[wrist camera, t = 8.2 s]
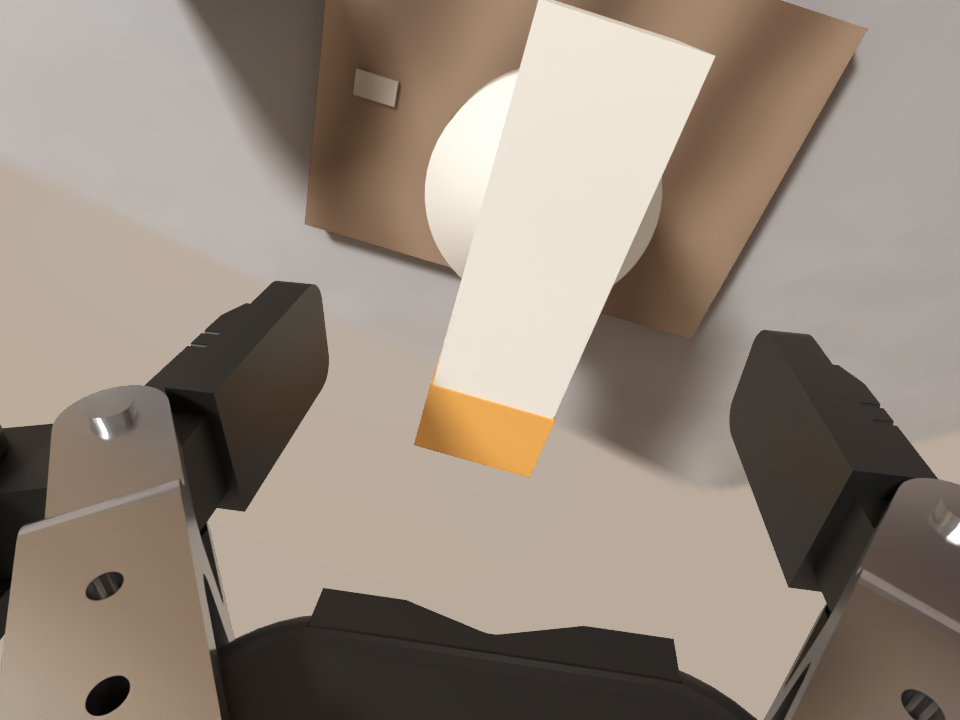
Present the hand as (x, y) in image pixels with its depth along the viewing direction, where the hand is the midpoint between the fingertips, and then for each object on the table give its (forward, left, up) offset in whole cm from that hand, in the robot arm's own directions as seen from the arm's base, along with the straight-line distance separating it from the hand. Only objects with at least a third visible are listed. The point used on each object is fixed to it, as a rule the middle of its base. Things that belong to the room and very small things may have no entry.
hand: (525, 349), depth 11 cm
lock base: (0, 0, -18) cm, 18 cm away
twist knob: (0, 0, -10) cm, 10 cm away
